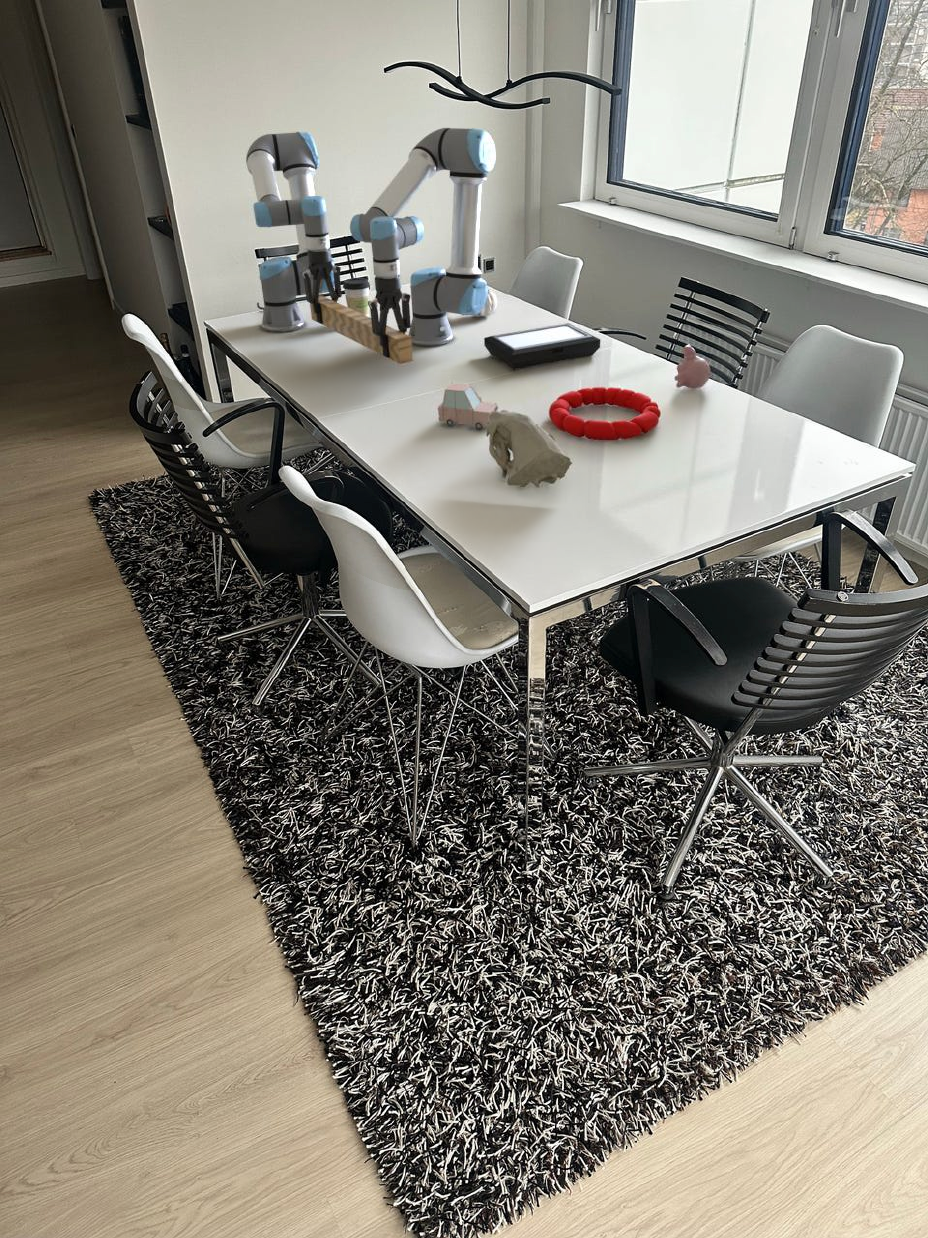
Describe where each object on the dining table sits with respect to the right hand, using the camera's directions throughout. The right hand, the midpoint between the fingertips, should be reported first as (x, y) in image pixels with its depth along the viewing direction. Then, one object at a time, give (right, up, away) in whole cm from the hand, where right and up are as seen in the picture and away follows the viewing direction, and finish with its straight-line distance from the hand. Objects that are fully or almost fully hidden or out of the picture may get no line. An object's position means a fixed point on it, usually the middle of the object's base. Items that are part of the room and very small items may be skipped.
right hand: (393, 354), depth 272 cm
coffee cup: (-17, +28, +55) cm, 64 cm away
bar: (-13, +10, +16) cm, 22 cm away
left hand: (-25, +21, +31) cm, 45 cm away
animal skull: (+36, -44, -52) cm, 77 cm away
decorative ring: (+60, -27, -28) cm, 71 cm away
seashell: (+28, +31, +58) cm, 72 cm away
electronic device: (+47, +5, +19) cm, 51 cm away
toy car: (+23, -27, -26) cm, 44 cm away
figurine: (+88, -13, -9) cm, 90 cm away
